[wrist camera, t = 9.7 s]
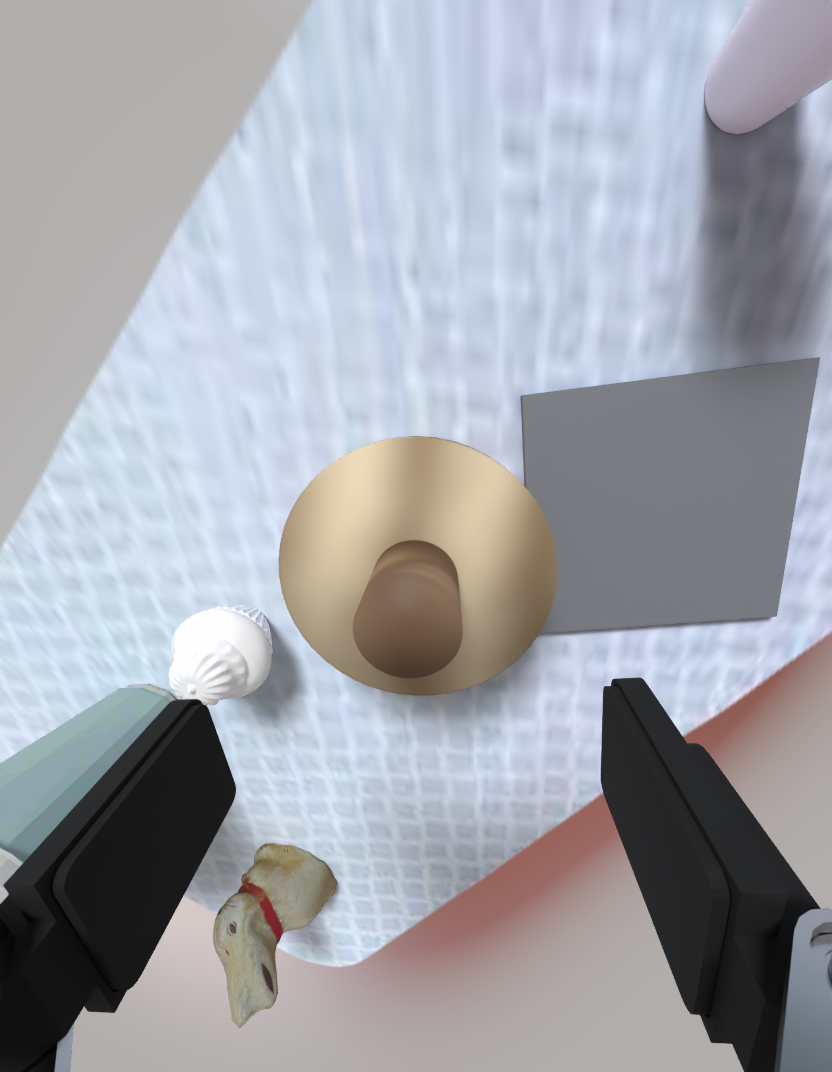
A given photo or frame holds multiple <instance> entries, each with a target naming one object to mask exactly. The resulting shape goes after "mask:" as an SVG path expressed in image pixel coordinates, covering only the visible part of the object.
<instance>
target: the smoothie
mask: <svg viewBox="0 0 832 1072" xmlns="http://www.w3.org/2000/svg"><path fill="white" fill-rule="evenodd" d="M831 79H832V0H750V2H749V4H748V5H747V7H746V9H745V10H744V12H743V13H742V15H741V17H740V18H739V20H738V22H737V23H736V25H735V26H734V28H733V30H732V31H731V33H730V35H729V36H728V38H727V39H726V41H725V43H724V44H723V46H722V47H721V49H720V51H719V52H718V54H717V56H716V57H715V59H714V61H713V63H712V65H711V67H710V70H709V72H708V75H707V79H706V84H705V105H706V109H707V112H708V115H709V117H710V119H711V120H712V122H713V123H714V124H715V125H716V126H717V127H718V128H719V129H721V130H723V131H725V132H727V133H731V134H743V133H747V132H750V131H753V130H755V129H757V128H759V127H760V126H762V125H764V124H765V123H767V122H768V121H770V120H771V119H773V118H774V117H776V116H777V115H779V114H780V113H782V112H783V111H785V110H786V109H788V108H789V107H791V106H792V105H794V104H795V103H797V102H798V101H800V100H801V99H803V98H804V97H806V96H807V95H809V94H810V93H812V92H813V91H815V90H816V89H818V88H819V87H821V86H822V85H824V84H825V83H827V82H828V81H830V80H831Z"/></svg>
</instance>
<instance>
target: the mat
mask: <svg viewBox="0 0 832 1072" xmlns="http://www.w3.org/2000/svg"><path fill="white" fill-rule="evenodd" d="M819 360H820V357H819V358H811V359H803V360H795V361H788V362H780V363H772V364H764V365H756V366H749V367H741V368H733V369H725V370H717V371H710V372H702V373H694V374H686V375H679V376H671V377H663V378H655V379H647V380H640V381H632V382H624V383H616V384H608V385H601V386H593V387H585V388H577V389H569V390H562V391H554V392H546V393H538V394H531V395H523V396H521V411H522V436H523V460H524V484H525V488H526V489H527V490H528V491H529V493H530V494H531V495H532V496H533V498H534V499H535V500H536V502H537V504H538V505H539V507H540V509H541V510H542V512H543V514H544V516H545V518H546V520H547V523H548V525H549V528H550V530H551V533H552V537H553V541H554V545H555V549H556V557H557V585H556V590H555V596H554V601H553V604H552V607H551V609H550V612H549V615H548V618H547V620H546V622H545V624H544V625H543V627H542V629H541V631H540V633H554V632H568V631H582V630H596V629H610V628H623V627H637V626H651V625H665V624H679V623H693V622H707V621H720V620H734V619H748V618H762V617H776V616H777V611H778V605H779V599H780V593H781V587H782V581H783V575H784V569H785V563H786V557H787V551H788V545H789V539H790V534H791V528H792V522H793V516H794V510H795V504H796V498H797V492H798V486H799V480H800V474H801V468H802V462H803V456H804V450H805V444H806V438H807V432H808V426H809V420H810V414H811V408H812V402H813V396H814V390H815V384H816V378H817V372H818V366H819ZM540 633H539V634H540Z"/></svg>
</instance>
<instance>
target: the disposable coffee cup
mask: <svg viewBox="0 0 832 1072" xmlns="http://www.w3.org/2000/svg"><path fill="white" fill-rule="evenodd" d="M173 700H176V699H175V698H174V697H173V696H172V695H171V694H170V693H169V692H167V691H165V690H162V689H160V688H157V687H154V686H152V685H149V684H145V685H130V686H128V687H126V688H123V689H118V690H117V691H115V692H113V693H112V694H110V695H109V696H107V697H105V698H104V699H102V700H101V701H99V702H97V703H96V704H94V705H93V706H91V707H90V708H88V709H86V710H85V711H83V712H82V713H80V714H78V715H77V716H75V717H74V718H72V719H70V720H69V721H67V722H66V723H64V724H62V725H61V726H59V727H58V728H56V729H55V730H53V731H51V732H50V733H48V734H47V735H45V736H43V737H42V738H40V739H39V740H37V741H35V742H34V743H32V744H31V745H29V746H27V747H26V748H24V749H23V750H21V751H19V752H18V753H16V754H15V755H13V756H12V757H10V758H8V759H7V760H5V761H4V762H2V763H0V904H1V903H2V902H3V900H4V899H5V898H6V897H7V896H8V895H9V894H8V892H7V891H6V889H5V888H4V886H3V885H4V884H5V882H6V881H7V880H8V879H9V878H10V877H11V876H12V875H13V874H14V873H15V871H16V870H17V869H18V868H19V867H20V866H21V865H22V864H23V863H24V862H25V860H26V859H27V858H28V857H29V856H30V855H31V854H32V853H33V852H34V851H35V850H36V848H37V847H38V846H39V845H40V844H41V843H42V842H43V841H44V840H45V839H46V837H47V836H48V835H49V834H50V833H51V832H52V831H53V830H54V829H55V828H56V826H57V825H58V824H59V823H60V822H61V821H62V820H63V819H64V818H65V817H66V815H67V814H68V813H69V812H70V811H71V810H72V809H73V808H74V807H75V806H76V804H77V803H78V802H79V801H80V800H81V799H82V798H83V797H84V796H85V795H86V794H87V792H88V791H89V790H90V789H91V788H92V787H93V786H94V785H95V784H96V783H97V781H98V780H99V779H100V778H101V777H102V776H103V775H104V774H105V773H106V772H107V770H108V769H109V768H110V767H111V766H112V765H113V764H114V763H115V762H116V761H117V759H118V758H119V757H120V756H121V755H122V754H123V753H124V752H125V751H126V750H127V749H128V747H129V746H130V745H131V744H132V743H133V742H134V741H135V740H136V739H137V738H138V736H139V735H140V734H141V733H142V732H143V731H144V730H145V729H146V728H147V727H148V725H149V724H150V723H151V722H152V721H153V720H154V719H155V718H156V717H157V716H158V714H159V713H160V712H161V711H162V710H163V709H164V708H165V707H166V706H167V705H168V704H169V703H170V702H171V701H173Z"/></svg>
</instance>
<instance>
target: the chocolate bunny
mask: <svg viewBox="0 0 832 1072" xmlns="http://www.w3.org/2000/svg"><path fill="white" fill-rule="evenodd" d="M241 881H242V882H243V883H242V886H241V888H240V889H239V891H238V893H236V894H234V895H233V896H231V897H230V898H229V899H228V900H227V901H226V903H225V904H224V905H223V906H222V908H221V909H220V910H219V912H218V914H217V917H216V919H215V925H214V931H213V941H214V947H215V950H216V953H217V954H218V956H219V958H220V960H221V962H222V964H223V966H224V970H225V972H226V976H227V988H228V996H229V1002H230V1008H231V1014H232V1020H233V1022H234V1023H235V1024H236V1025H237V1026H238V1027H239V1028H241V1027H242V1026H243V1025H244V1024H245V1023H246V1022H247V1021H248V1020H249V1019H250V1018H251V1017H252V1016H253V1015H254V1014H255V1013H256V1012H258V1011H260V1010H263V1009H269V1008H271V1007H272V1006H273V1005H274V1003H275V1001H276V997H277V994H278V985H277V972H276V965H275V964H276V963H275V950H276V946H277V944H278V942H279V941H280V938H281V936H282V934H283V933H285V932H286V931H289V930H296V929H299V928H302V927H304V926H306V925H307V924H309V923H310V922H311V921H312V920H313V919H314V918H315V917H316V915H317V914H318V913H319V912H320V910H321V908H322V907H323V905H324V904H325V903H326V902H327V901H328V900H330V898H331V897H332V896H333V894H334V891H335V888H336V884H337V881H336V879H334V877H333V876H332V875H331V871H330V869H329V868H328V866H327V865H326V864H325V862H323V861H320V860H319V859H318V858H317V857H316V856H314V855H312V854H311V853H309V852H306V851H304V850H302V849H300V848H297V847H295V846H292V845H281V844H265V845H263V846H261V847H260V848H259V850H258V851H257V852H256V855H255V858H254V865H253V866H252V867H251V868H250V869H249V871H248V872H247V873H246V874H243V876H242V879H241Z"/></svg>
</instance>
